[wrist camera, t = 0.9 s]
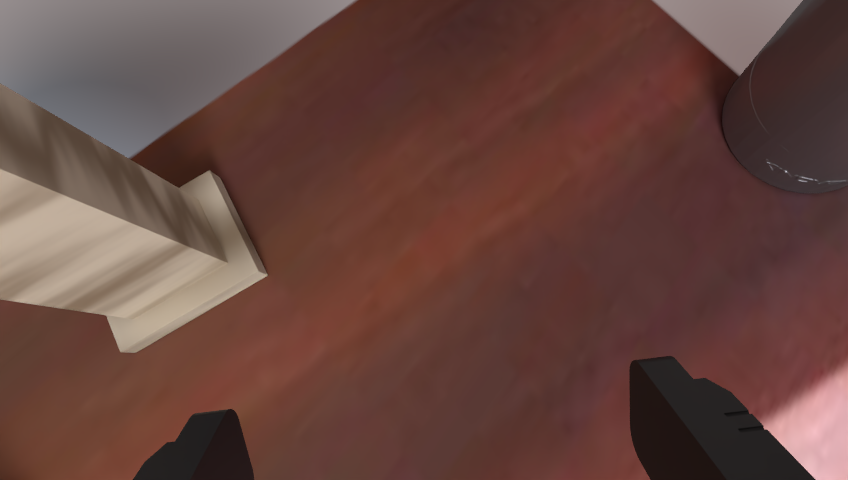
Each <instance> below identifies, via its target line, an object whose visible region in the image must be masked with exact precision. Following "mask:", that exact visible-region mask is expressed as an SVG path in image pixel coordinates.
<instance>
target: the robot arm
mask: <svg viewBox="0 0 848 480" xmlns="http://www.w3.org/2000/svg"><path fill="white" fill-rule="evenodd" d="M722 126H723V130H724V135H725V139H726V141H727V143H728V145H729V147H730V150H731V152H732V153H733V154H734V156H735V157H736V158H737V159H738V161H739V162H740V163H741V165H743V166H744V167H745V168H746V169H747V170H748V171H749V172H750V173H752V174H753V175H754V176H756V177H757V178H759V179H761V180H762V181H764V182H766V183H767V184H770V185H772V186H775V187H778V188H780V189H783V190H787V191H793V192H798V193H823V192H828V191H833V190H837V189H840V188H842V187H845V186H847V185H848V0H803V1H802V2H801V3H800V5H799V6H798V7H797V8H796V9H795V11H794V12H793V13H792V14H791V15H790V17H789V18H788V19H787V20H786V22H785V23H784V24H783V25H782V26H781V28H780V29H779V30H778V31H777V32H776V34H775V35H774V36H773V37H772V38H771V40H770V41H769V42H768V43H767V44H766V45H765V46H764V48H763V49H762V50H761V51H760V52H759V54H758V55H757V56H756V57H755V59H754V60H753V61H752V62H751V63H750V64H749V66H748V67H747V68H746V69H745V70H744V72H743V73H742V74H741V75H740V77H739V78H738V79H737V80H736V81H735V83H734V84H733V86H732V87H731V89H730V91H729V92H728V94H727V96H726V99H725V103H724V106H723V111H722ZM630 429H631V436H632V441H633V445H634V448H635V451H636V453H637V456H638V458H639V460H640V462H641V463H642V465H643V467H644V469H645V470H646V472H647V474H648V476H649V477H650V479H651V480H815V479H814V478H813V477H812V476H811V475H810V474H809V473H808V471H807V470H806V469H805V468H804V467H803V466H802V465H801V464H800V463H799V462H798V461H797V460H796V459H795V458H794V457H793V456H792V455H791V454H790V453H789V452H788V451H787V450H786V449H785V448H784V447H783V446H782V445H781V444H780V443H779V442H778V440H777V439H776V438H775V437H774V436H773V435H772V434H771V433H770V432H769V431H768V430H764V428H763V425H762V424H761V423H760V422H759V421H758V420H757V419H756V418H755V417H754V416H753V415H752V414H749V412H748V409H747V408H746V407H745V406H744V405H743V404H742V403H741V402H740V401H739V400H738V399H737V398H736V397H735V396H734V395H733V394H732V393H731V392H730V391H728V390H726V389H724V388H722V387H720V386H719V385H717V384H715V383H713V382H711V381H710V380H708V379H706V378H701V379H693V378H692V377H691V376H690V375H689V374H688V373H687V371H686V370H685V369H684V368H683V367H682V366H681V365H680V364H679V362H678V361H677V360H676V359H675V358H674V357H672V356H666V357H658V358H650V359H642V360H634V361H632V362H631V365H630ZM133 480H254V475H253V469H252V466H251V462H250V458H249V455H248V451H247V447H246V444H245V440H244V437H243V433H242V429H241V426H240V422H239V419H238V416H237V414H236V412H235V411H234V410H232V409H227V410H219V411H211V412H203V413H195V414H193V415H192V416H191V417H190V419H189V420H188V422H187V423H186V425H185V427H184V428H183V430H182V431H181V433H180V435H179V436H178V438H177V439H176V441H175V442H168V443H166V444H165V445H164V446H163V447H162V448H160V449H159V450H158V451H157V452H156V453H155V454H153V455H152V456H151V457H150V458H149V459H148V460H147V461H145V462H144V464H143V465H142V467H141V468H140V470H139V471H138V473H137V474H136V476H135V477H134V479H133Z"/></svg>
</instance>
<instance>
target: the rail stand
mask: <svg viewBox="0 0 848 480" xmlns="http://www.w3.org/2000/svg"><path fill="white" fill-rule="evenodd" d="M266 276H268V274H267V272H266V270H265V268H264V266H263V264H262V262H261V260H260V258H259V256H258V254H257V252H256V250H255V248H254V246H253V244H252V242H251V240H250V238H249V236H248V234H247V231H246V229H245V227H244V225H243V223H242V221H241V219H240V217H239V215H238V213H237V211H236V209H235V207H234V205H233V203H232V201H231V199H230V197H229V195H228V193H227V191H226V189H225V187H224V185H223V182H222V180H221V178H220V177H218V176H217V175H215V174H214V173H213V172H211V171H210V170H209V171H207V172H205V173H204V174H202V175H200V176H198V177H197V178H195V179H193V180H192V181H190V182H188V183H186V184H185V185H183V186H181V187H180V188H178V187H176V186H174V185H173V184H171V183H169V182H168V181H166V180H164V179H162V178H161V177H159V176H157V175H156V174H154V173H152V172H150V171H149V170H147V169H145V168H144V167H142V166H140V165H139V164H137V163H135V162H133V161H132V160H130V159H128V158H127V157H125V156H123V155H122V154H120V153H118V152H116V151H115V150H113V149H111V148H110V147H108V146H106V145H104V144H103V143H101V142H99V141H97V140H96V139H94V138H93V137H91V136H89V135H87V134H85V133H84V132H82V131H80V130H79V129H77V128H75V127H74V126H72V125H70V124H69V123H67V122H65V121H63V120H62V119H60V118H58V117H57V116H55V115H53V114H52V113H50V112H48V111H47V110H45V109H43V108H41V107H40V106H38V105H36V104H35V103H33V102H31V101H29V100H28V99H26V98H24V97H23V96H21V95H19V94H18V93H16V92H14V91H12V90H11V89H9V88H7V87H6V86H4V85H2V84H0V299H2V300H8V301H15V302H22V303H28V304H35V305H42V306H48V307H55V308H62V309H68V310H75V311H82V312H88V313H95V314H102V315H106V316H107V319H108V321H109V324H110V326H111V329H112V332H113V334H114V337H115V339H116V342H117V345H118V347H119V350H120V352H128V353H136V352H138V351H140V350H141V349H143V348H145V347H147V346H148V345H150V344H152V343H153V342H155V341H157V340H158V339H160V338H162V337H164V336H165V335H167V334H169V333H170V332H172V331H174V330H176V329H177V328H179V327H181V326H182V325H184V324H186V323H187V322H189V321H191V320H193V319H194V318H196V317H198V316H199V315H201V314H203V313H205V312H206V311H208V310H210V309H211V308H213V307H215V306H217V305H218V304H220V303H222V302H223V301H225V300H227V299H228V298H230V297H232V296H234V295H235V294H237V293H239V292H240V291H242V290H244V289H246V288H247V287H249V286H251V285H252V284H254V283H256V282H258V281H259V280H261V279H263V278H264V277H266Z"/></svg>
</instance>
